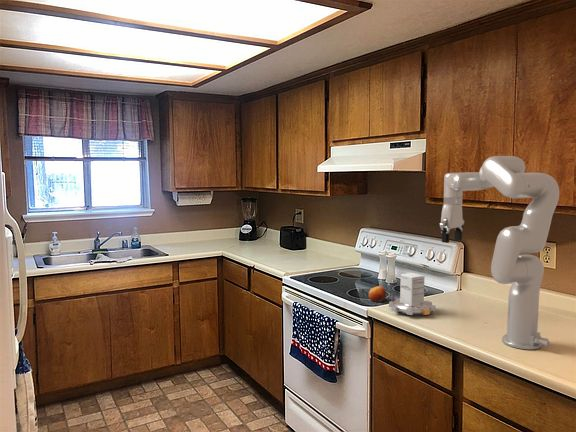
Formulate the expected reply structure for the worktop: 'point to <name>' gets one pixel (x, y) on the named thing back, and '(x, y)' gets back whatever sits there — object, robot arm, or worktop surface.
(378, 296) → the fruit
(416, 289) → the supplement box
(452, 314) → the worktop surface
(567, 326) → the worktop surface
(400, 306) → the silver knobbed tray
